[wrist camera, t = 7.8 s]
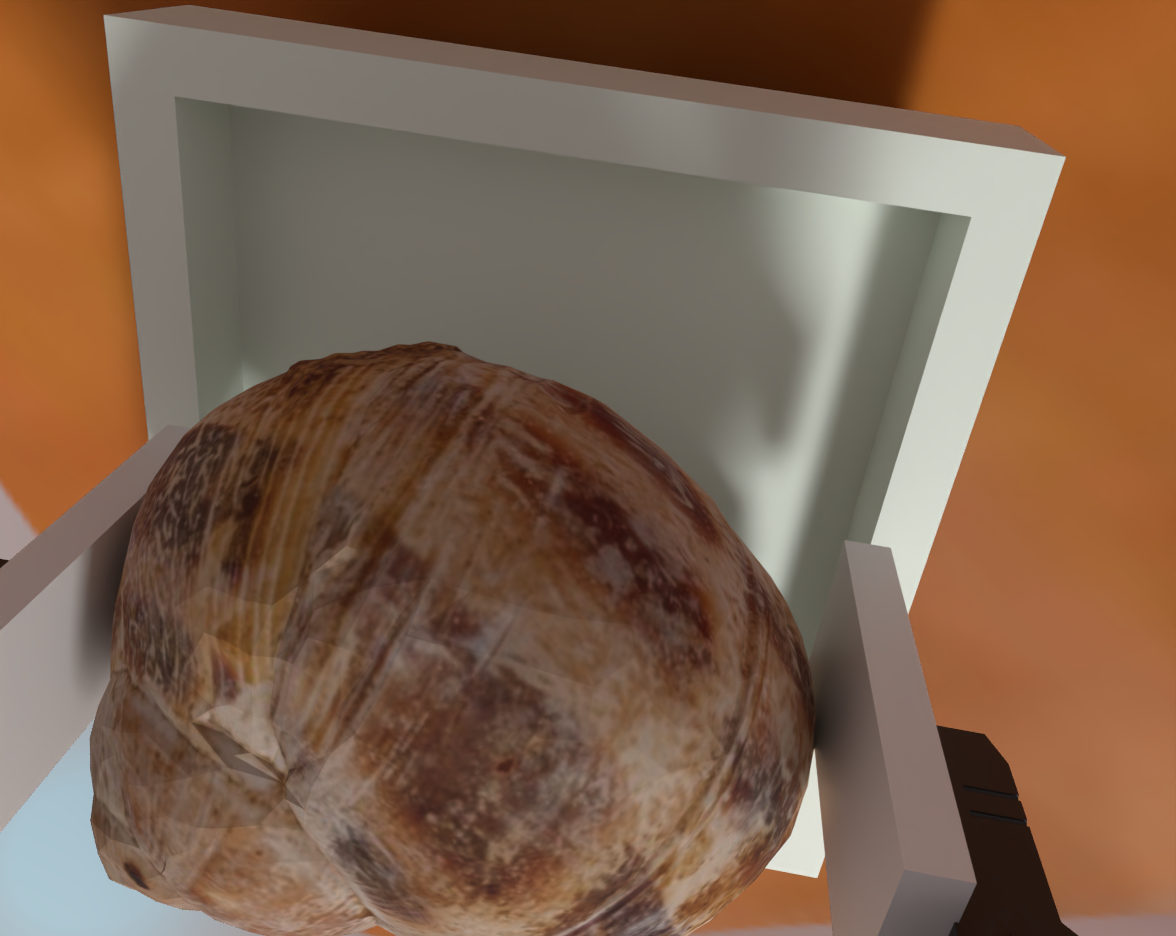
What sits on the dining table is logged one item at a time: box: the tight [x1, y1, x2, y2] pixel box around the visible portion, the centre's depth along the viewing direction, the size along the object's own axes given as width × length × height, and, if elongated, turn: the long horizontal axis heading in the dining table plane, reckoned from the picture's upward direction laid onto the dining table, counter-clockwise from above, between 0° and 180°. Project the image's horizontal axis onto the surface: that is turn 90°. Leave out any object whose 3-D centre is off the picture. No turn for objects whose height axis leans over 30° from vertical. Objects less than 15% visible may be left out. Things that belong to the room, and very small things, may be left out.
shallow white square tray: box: [104, 5, 1066, 878], centre depth 20 cm, size 15×14×5 cm
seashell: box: [90, 341, 816, 936], centre depth 15 cm, size 10×9×10 cm
